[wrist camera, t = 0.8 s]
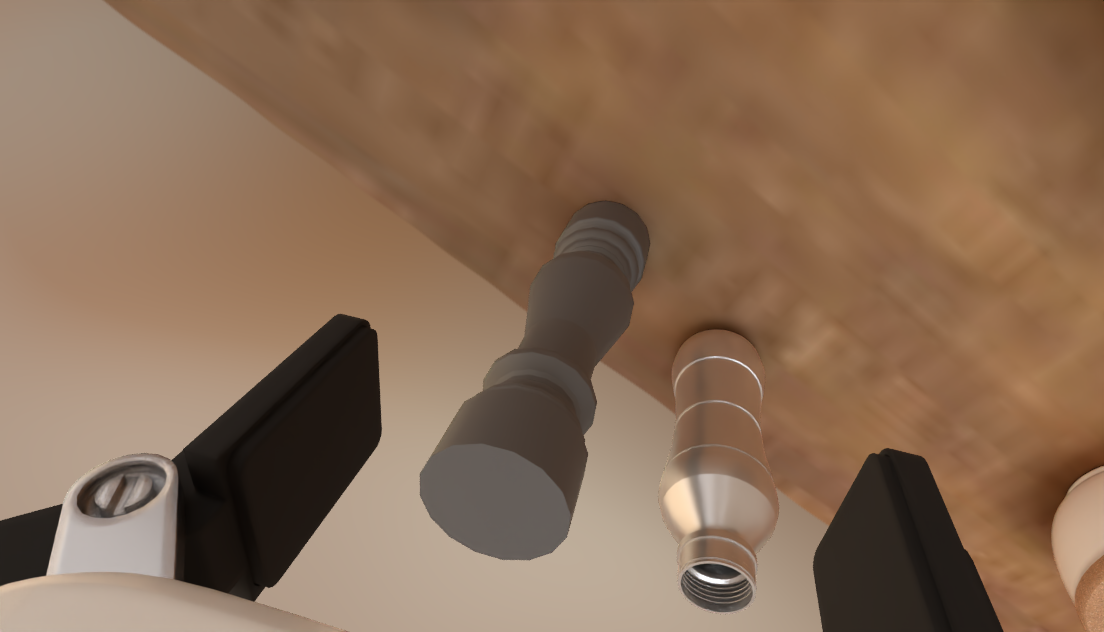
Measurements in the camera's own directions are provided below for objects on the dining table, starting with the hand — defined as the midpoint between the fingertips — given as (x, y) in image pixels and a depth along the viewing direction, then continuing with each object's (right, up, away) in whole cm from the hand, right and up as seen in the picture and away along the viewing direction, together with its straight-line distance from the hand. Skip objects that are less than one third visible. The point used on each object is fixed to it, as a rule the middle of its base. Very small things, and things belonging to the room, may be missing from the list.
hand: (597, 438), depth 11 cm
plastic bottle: (+12, -1, +33) cm, 35 cm away
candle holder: (+3, +8, +31) cm, 32 cm away
